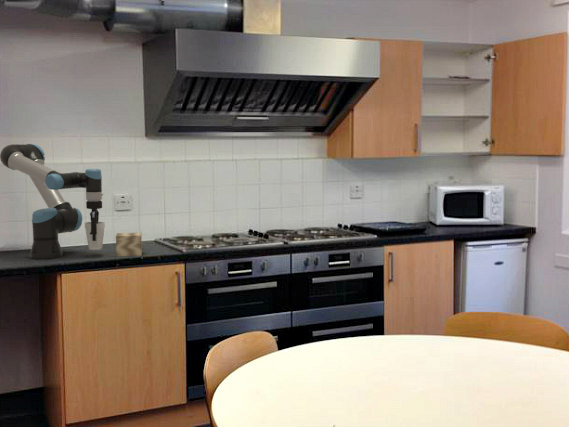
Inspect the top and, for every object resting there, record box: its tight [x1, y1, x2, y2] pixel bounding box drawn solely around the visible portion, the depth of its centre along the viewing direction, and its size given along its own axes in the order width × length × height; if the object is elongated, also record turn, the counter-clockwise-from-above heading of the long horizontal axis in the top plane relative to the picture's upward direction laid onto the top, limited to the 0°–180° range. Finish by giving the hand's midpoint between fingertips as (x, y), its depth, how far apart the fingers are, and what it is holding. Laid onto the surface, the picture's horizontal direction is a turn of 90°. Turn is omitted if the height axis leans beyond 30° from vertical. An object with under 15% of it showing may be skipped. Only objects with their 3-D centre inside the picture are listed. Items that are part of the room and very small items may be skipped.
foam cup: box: [84, 221, 106, 251], centre depth 359 cm, size 10×9×13 cm
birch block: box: [115, 232, 143, 258], centre depth 363 cm, size 12×12×10 cm
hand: (95, 245), depth 360 cm, fingers closed on foam cup, 9 cm apart
